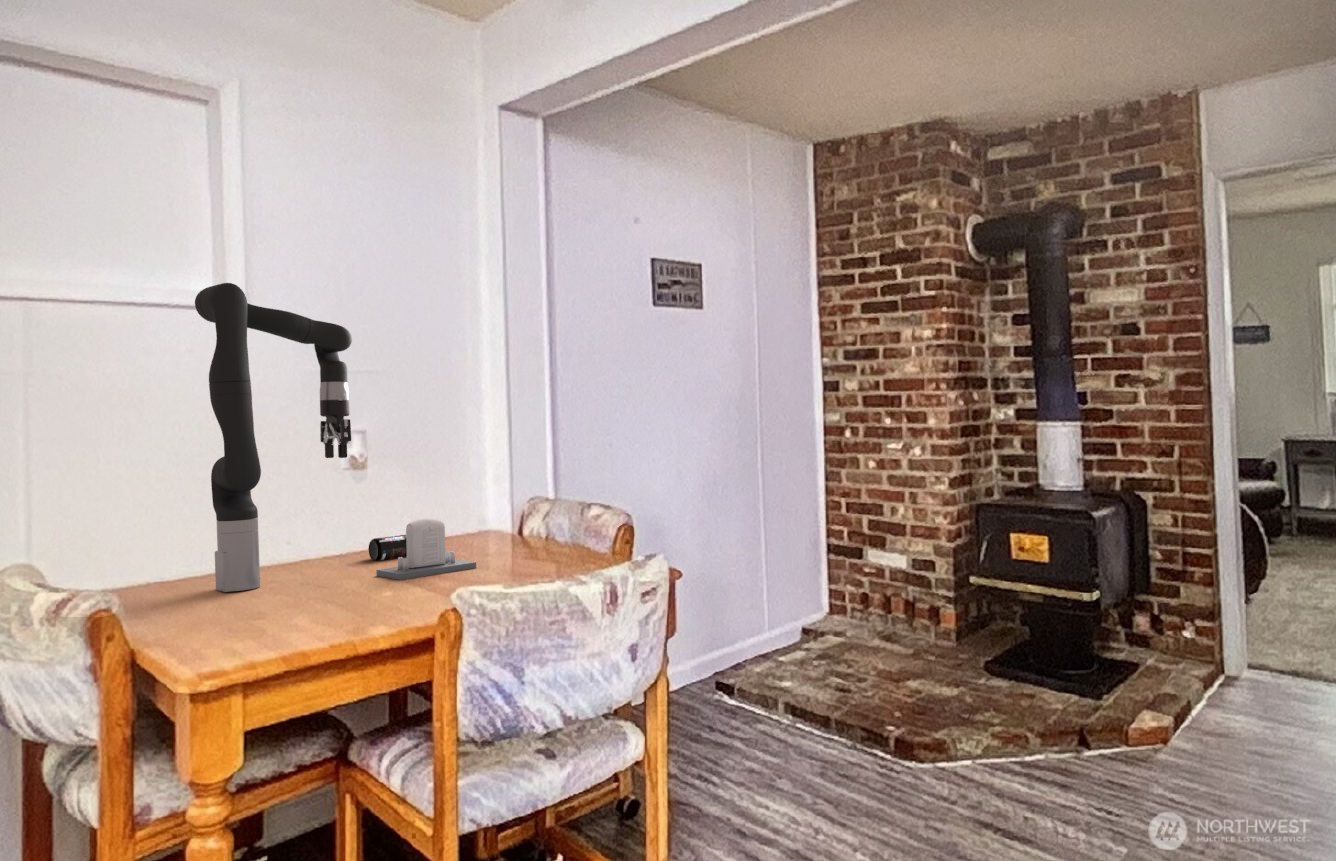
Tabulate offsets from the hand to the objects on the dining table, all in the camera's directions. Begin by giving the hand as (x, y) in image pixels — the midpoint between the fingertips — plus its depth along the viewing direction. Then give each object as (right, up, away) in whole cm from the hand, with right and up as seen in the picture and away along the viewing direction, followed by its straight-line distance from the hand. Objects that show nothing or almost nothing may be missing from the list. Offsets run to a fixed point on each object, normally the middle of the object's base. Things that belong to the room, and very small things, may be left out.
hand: (336, 457), depth 239 cm
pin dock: (+29, -29, -13) cm, 43 cm away
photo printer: (+29, -28, -13) cm, 42 cm away
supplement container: (+9, -28, +8) cm, 30 cm away
